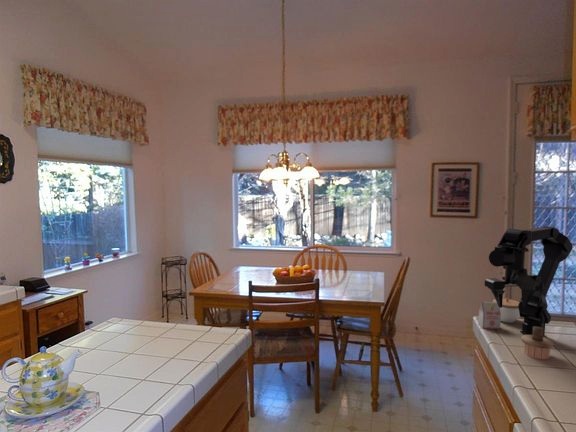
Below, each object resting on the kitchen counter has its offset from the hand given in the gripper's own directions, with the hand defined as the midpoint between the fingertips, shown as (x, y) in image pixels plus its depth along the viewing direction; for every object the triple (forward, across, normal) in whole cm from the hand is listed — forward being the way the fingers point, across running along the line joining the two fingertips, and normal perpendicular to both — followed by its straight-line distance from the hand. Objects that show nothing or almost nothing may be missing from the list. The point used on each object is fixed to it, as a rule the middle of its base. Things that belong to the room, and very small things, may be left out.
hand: (512, 307), depth 138 cm
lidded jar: (+13, +14, +22) cm, 28 cm away
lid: (+8, +1, -11) cm, 14 cm away
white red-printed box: (+13, +1, +14) cm, 19 cm away
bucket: (+12, +1, -11) cm, 17 cm away
